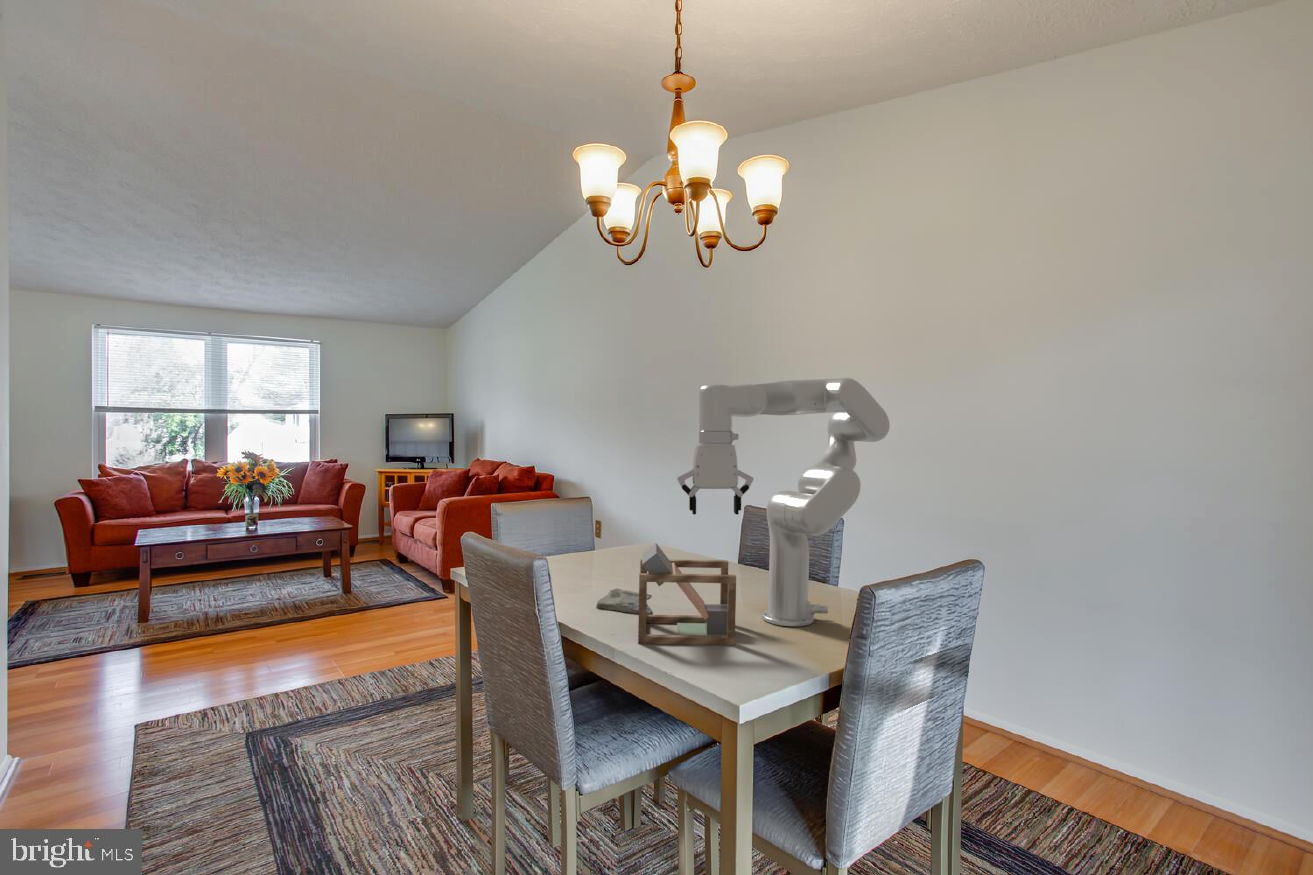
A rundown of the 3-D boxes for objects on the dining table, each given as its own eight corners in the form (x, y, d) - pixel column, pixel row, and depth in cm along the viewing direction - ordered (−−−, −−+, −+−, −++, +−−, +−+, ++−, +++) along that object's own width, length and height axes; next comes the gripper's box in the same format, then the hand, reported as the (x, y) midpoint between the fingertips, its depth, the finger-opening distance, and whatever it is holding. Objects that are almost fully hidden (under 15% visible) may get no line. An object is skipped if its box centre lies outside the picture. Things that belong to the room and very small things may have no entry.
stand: (638, 643, 140) (639, 574, 140) (639, 620, 156) (640, 558, 156) (734, 645, 141) (736, 576, 140) (726, 622, 157) (727, 560, 156)
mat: (723, 625, 154) (723, 623, 154) (728, 641, 143) (728, 639, 143) (677, 624, 154) (677, 622, 154) (679, 640, 143) (679, 638, 143)
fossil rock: (610, 595, 181) (610, 586, 181) (662, 599, 178) (662, 590, 178) (592, 612, 164) (592, 603, 164) (650, 617, 161) (650, 607, 161)
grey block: (704, 626, 151) (730, 627, 151) (706, 634, 146) (733, 634, 146) (705, 603, 151) (731, 604, 151) (707, 610, 146) (733, 611, 146)
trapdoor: (642, 564, 142) (658, 551, 142) (642, 553, 154) (657, 541, 154) (692, 629, 142) (708, 617, 142) (689, 613, 154) (704, 601, 154)
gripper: (750, 438, 151) (750, 511, 152) (676, 438, 151) (676, 511, 152) (756, 439, 144) (755, 516, 144) (678, 439, 144) (678, 516, 144)
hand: (715, 513), depth 148 cm, fingers open, 9 cm apart
